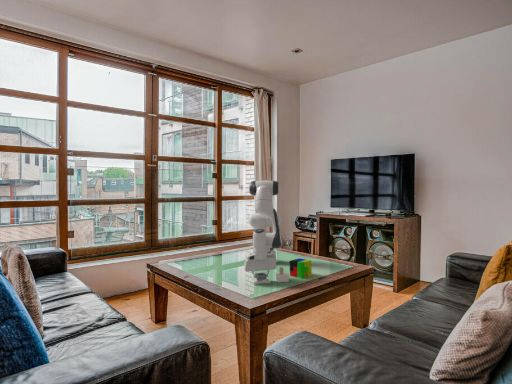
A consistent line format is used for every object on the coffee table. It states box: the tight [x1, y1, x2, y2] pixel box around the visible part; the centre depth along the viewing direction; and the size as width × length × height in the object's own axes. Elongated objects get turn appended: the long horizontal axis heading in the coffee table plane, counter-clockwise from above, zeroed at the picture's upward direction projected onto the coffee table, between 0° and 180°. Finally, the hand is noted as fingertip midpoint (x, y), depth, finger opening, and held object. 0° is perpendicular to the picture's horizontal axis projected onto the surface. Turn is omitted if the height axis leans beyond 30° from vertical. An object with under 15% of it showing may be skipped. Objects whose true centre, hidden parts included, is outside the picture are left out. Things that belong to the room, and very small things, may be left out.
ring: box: [254, 272, 268, 280], centre depth 208 cm, size 6×6×2 cm
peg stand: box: [274, 266, 290, 283], centre depth 209 cm, size 7×7×8 cm
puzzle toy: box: [289, 257, 312, 279], centre depth 219 cm, size 10×10×10 cm
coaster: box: [251, 277, 271, 285], centre depth 208 cm, size 10×10×1 cm
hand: (260, 277), depth 208 cm, fingers closed on ring, 6 cm apart
